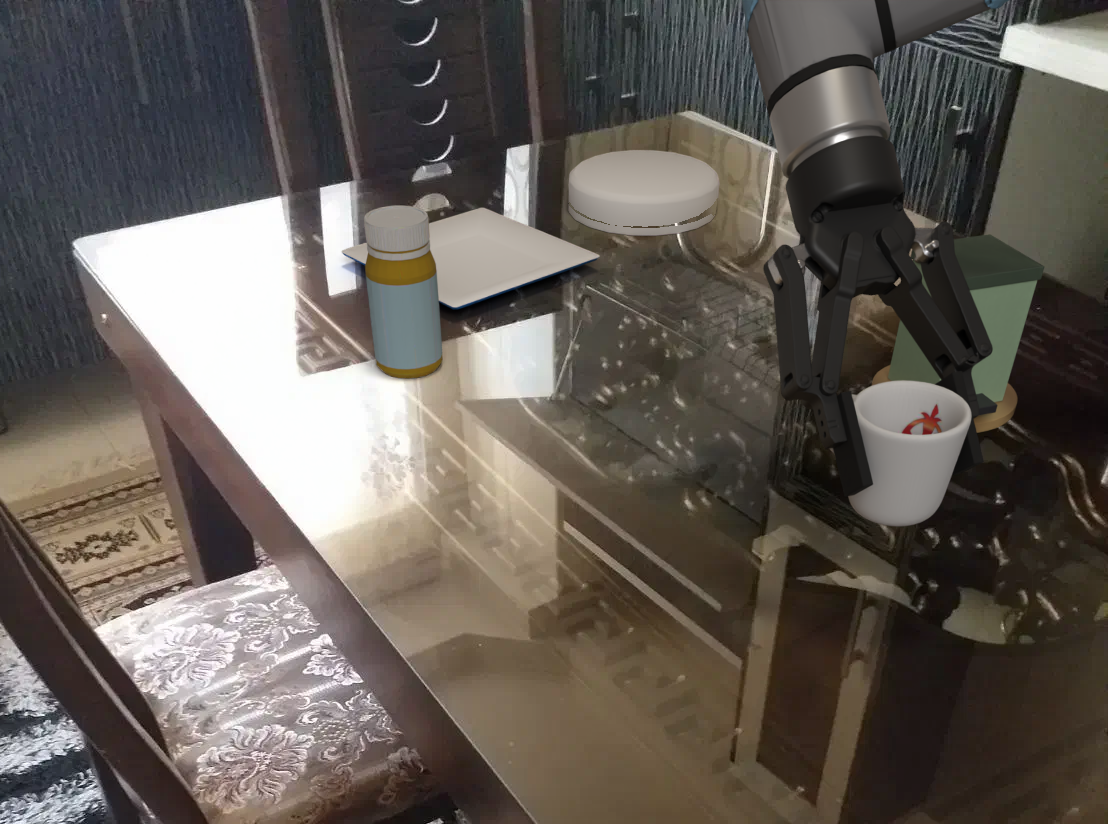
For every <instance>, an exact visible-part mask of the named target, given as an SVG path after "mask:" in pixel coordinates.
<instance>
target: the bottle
mask: <svg viewBox="0 0 1108 824" xmlns="http://www.w3.org/2000/svg"><path fill="white" fill-rule="evenodd" d="M363 223H364V224H363V225H364V233H365V241H366V243H367V251H368V255H367V260H366V264H365V265H364V269H365V273H364V274H365V281H366V290H367V291H366V292H367V300H368V307H369V316H370V327H371V334H372V343H373V351H374V358H375V365H376V366H377V368H378V369H380V370H381V371H382V372H383V373H384V374H385V375H387V376H389V377H393V378H396V379H409V380H410V379H417V378H422V377H426V376H429V375H431V374H433V373H434V372H435V371H436V370H437V369H438V368H439V366H440V365H441V364H442V362H443V340H442V327H441V313H440V303H439V297H438V283H437V270H436V263H435V260H434V258H433V255H432V253H431V251H430V240H429V238H430V233H429V223H430V220H429V216H428V213H427V211H426V210H424V209H422V208H420V207H417V206H412V205H387V206H383V207H382V206H381V207H377V208H374V209H372V210H370V211H368V212H367V213H366V214H365V215H364V218H363Z"/></svg>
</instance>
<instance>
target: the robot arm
mask: <svg viewBox="0 0 1108 824" xmlns="http://www.w3.org/2000/svg"><path fill="white" fill-rule="evenodd" d="M1007 2H1010V0H741V4H742V10H743V14H744V19H745V22H744V23H745V24H744V27H745V30H746V33H747V36H748V42H749V45H750V49H751V54H752V57H753V61H754V65H755V68H756V73H757V76H758V81H759V84H760V87H761V92H762V95H763V99H764V103H765V108H766V111H767V115H768V119H769V123H770V126H771V131H772V135H773V139H774V143H775V147H776V152H777V156H778V161H779V164H780V168H781V169H780V170H781V172H782V175H783V177H785V178H787V181H786V182H785V192H786V196H787V200H788V204H789V208H790V212H791V216H792V217H791V218H792V221H793V225H794V229H795V230H796V232H797V233H798V235H799V242H798V245H795V246H793V247H792V246H791V245H789V244H786V243H785V244H781V245H780V246H779V247H778V248H777V249H776V250H775V251H774V253H773V254H772V255H771V256H770V257H769V258H768V259H767V260H766V262H765V263H764V264H763V268H762V269H763V273H764V276H765V278H766V281H767V283H768V285H769V288H770V290H771V293H772V297H773V306H774V308H773V309H774V319H775V321H774V322H775V333H776V344H777V345H776V346H777V357H778V371H779V382H780V393H781V396H782V398H783V399H784V400H786V401H789V402H792V401H794V400H798V401H801V403H802V406H803V407H804V408H805V409H807V410H812V411H813V414H814V415H813V416H814V419H815V422H816V423H815V424H816V427H817V431H818V434H819V435H818V436H819V439H820V444H821V445H822V446H823V448H824V450H830V448H833V451H834V453H833V455H834V459H835V463H836V467H837V471H838V474H839V479H840V484H841V487H842V491H843V496H844V498H847V497H848V496H852V495H855V494H857V493H859V492H861V491H863V490H864V489H866V488H868V487H870V486H872V485H873V481H872V476H871V472H870V468H869V464H868V460H867V456H866V451H865V447H864V443H863V439H862V435H861V431H860V427H859V423H858V418H857V414H856V410H855V406H854V402H853V397H852V394H853V393H852V390H848V391H843V392H839V394H837V393H838V392H837V391H838V389H839V387H840V380H841V373H842V366H843V359H844V353H845V347H846V339H847V332H848V326H849V325H848V324H849V319H850V312H851V304H852V300H853V299H854V298H856V297H859V296H861V295H863V296H871V297H872V296H878V297H879V299H880V300H881V302H882V303H883V304H884V305H885V306H886V307H891V308H892V310H893V311H894V313H895V314H896V315H897V317H898V319H899V321H900V320H901V321H902V323H903V324H904V326H905V327H906V329H907V330H908V332H909V333H910V335H911V336H912V338H913V339H914V341H915V342H916V343H917V345H918V346H919V348H920V349H921V351H922V352H923V354H924V355H925V357H926V358H927V360H928V361H929V363H930V364H931V366H932V367H933V369H934V370H935V371H936V373H937V374H938V376H939V377H940V379H941V380H940V381H939V382H937V383H936V384H935V385H938V386H941V387H944V388H946V389H948V390H950V391H953V392H954V393H956V394H957V395H959V396H960V397H962V398H963V399H964V400H965V401H966V403H967V404H968V405H969V407H970V410H971V415H972V417H971V423H970V426H969V429H968V431H967V434H966V437H965V440H964V442H963V445H962V448H961V451H960V454H959V456H958V459H957V462H956V465H955V467H954V470H953V473H952V476H956V475H960V474H963V473H965V472H967V471H969V470H971V469H973V468H975V467H977V466H979V465H982V464H983V463H985V461H984V456H983V452H982V448H981V444H980V440H979V436H978V433H977V431H976V427H975V423H974V418H976V417H977V416H979V409H980V408H979V404H978V401H977V396H976V392H975V387H974V383H973V379H972V374H971V372H972V368H973V367H974V366H975V365H976V364H977V363H979V362H980V361H982V360H983V359H985V358H986V357H988V356H989V355H991V353H992V351H993V347H992V344H991V342H990V339H989V337H988V334H987V332H986V329H985V327H984V324H983V322H982V319H981V317H980V314H979V312H978V309H977V307H976V304H975V302H974V299H973V297H972V295H971V292H970V290H969V287H968V285H967V282H966V280H965V277H964V275H963V272H962V270H961V267H960V265H959V262H958V260H957V257H956V255H955V248H954V239H955V238H954V227H953V226H952V224H951V223H950V222H948V221H940V223H938V224H937V225H936V226H935V227H933V228H931V227H930V228H929V227H915V225H914V223H913V221H912V220H911V219H910V218H909V216H908V214H907V213H906V211H905V208H904V194H905V193H904V191H905V190H904V189H905V188H904V187H905V186H904V183H903V179H902V175H901V170H900V166H899V162H898V157H897V152H896V149H895V146H894V143H893V142H892V141H890V140H889V138H890V136H891V125H890V122H889V117H888V114H887V110H886V106H885V103H884V99H883V94H882V90H881V87H880V82H879V80H878V74H877V72H876V66H875V64H874V59H875V58H878V57H880V56H882V55H884V54H888V53H890V52H893V51H895V50H897V49H899V48H902V47H903V46H905V45H908V44H911V43H913V42H915V41H918V40H920V39H923V38H925V37H927V36H930V35H933V34H934V33H937V32H939V31H942V30H944V29H946V28H950V27H951V26H953V25H956V24H959V23H961V22H963V21H966V20H968V19H970V18H972V17H975V16H978V15H981V14H982V13H985V12H987V11H989V10H997V9H999V8H1002V7H1003V6H1004V5H1005V3H1007ZM912 250H914V252H915V254H916V256H915V258H914V260H915V262H916V263H921V269H922V274H923V277H924V280H925V282H926V285H927V287H928V290H929V292H930V294H929V293H928V291H927V290H926V288H925V287H924V285H923V284H922V274H921V272H920V270H919V269H918V268H917V266H916V265H915V263H914V262H913V259H911V255H910V254H911V253H910V252H911V251H912ZM806 269H807V270H808V271H809V272H810V273H812V274H813V276H814V277H816V279H817V280H819V282H820V283H819V289H818V290H819V291H818V297H817V305H816V310H817V311H818V317H817V322H816V330H815V337H814V344H813V351H812V355H811V343H810V330H809V316H808V304H807V293H806V282H805V281H806V280H805V277H804V275H805V272H806ZM898 280H900V282H899V283H898V284H897V285H896V284H895V283H896V282H897V281H898ZM930 295H931V296H930Z"/></svg>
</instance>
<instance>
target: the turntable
mask: <svg viewBox="0 0 1108 824" xmlns="http://www.w3.org/2000/svg"><path fill="white" fill-rule="evenodd" d="M890 365H891V364H889V365H887V366H885V367H882V369H879V371H877V372H876V374H874V376H873V378H872V379H871V380H872V381H871V385H870V386H873V385H876V384H879V383H883V382H889V381H891V380H890V379H889V378H888V375H889V370H890ZM995 403H996V404H997V405H998V406H997V409H996V412H995V413H989V414H984V415H979V416H977V417H976V418H974V423H975V427H976V431H977V434H978V433H983V432H988V431H991V430H995V429H997V428H999V427H1002V426H1003V425H1006V424H1007V423H1008V422H1009V421H1010V420H1011V419H1012V417H1013V416H1014V414H1015V412H1016V408H1017V404H1018V395H1017V392H1016V390H1015V389H1014V388H1013V386H1012V385H1011V384H1010V383H1009V382H1008V383H1007V387H1006V390H1005V394H1004V397H1003V400H1002V401H998V402H995Z"/></svg>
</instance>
